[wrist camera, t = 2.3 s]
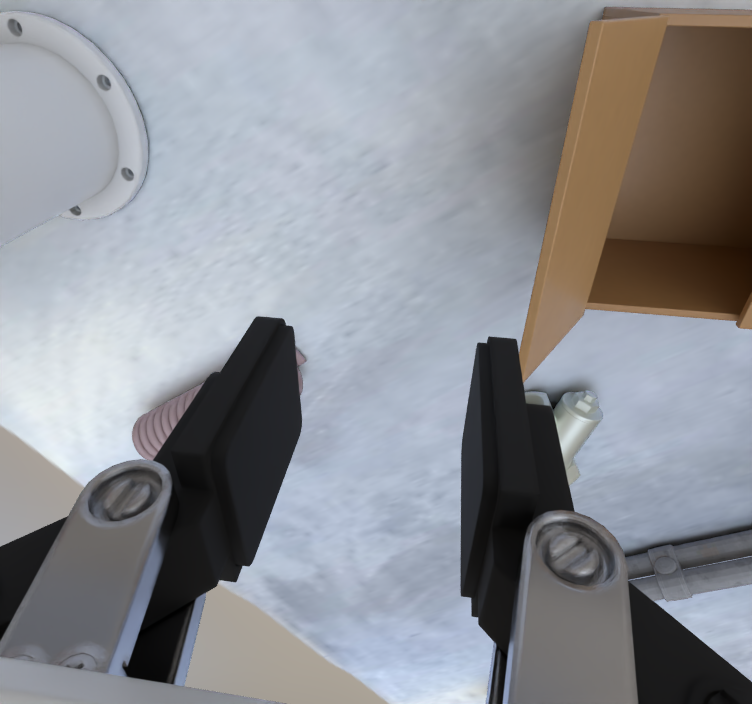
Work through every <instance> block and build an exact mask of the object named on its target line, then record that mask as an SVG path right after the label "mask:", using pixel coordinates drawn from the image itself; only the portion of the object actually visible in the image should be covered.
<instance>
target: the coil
mask: <svg viewBox="0 0 752 704" xmlns="http://www.w3.org/2000/svg"><path fill="white" fill-rule="evenodd" d="M296 359H297V365H298V366H300V365H302V364H303V363H305V362H306V360H305V358H304V357H303V356H302V354H301V353H300V352H299V351H298V350H297V349H296ZM298 366H297V370H298V381H299V392H300V395H301V393H302V390H303V380H302V375H301V373H300V370H299V368H298ZM203 384H204V382H203V383H202V384H200V385H198V386H196V387H194V388H193V389H191V390H188V391H187V392H185V393H183V394H181V395H179V396H178V397H176V398H173V399H172V400H170V401H168V402H166V403H164V404H163V405H161V406H158V407H157V408H155V409H153V410H151V411H149V412H148V413H146V414H143V415H142V416H141V417H139V418H138V420H137V421H136V423H135V425H134V427H133V431H132V439H133V443H134V446H135V448H136V450H137V452H138V453H139V454H140V455H141V456H142V457H143V458H145V459H147V460H151V461H153V459H154V458H155V456H156V455H157V453H158V452H159V450H160V449H161V447H162V446H163V444H164V443H165V441H166V440H167V438H168V437H169V435H170V434H171V432H172V431H173V429H174V428H175V426H176V425H177V423H178V422H179V420H180V419H181V417H182V416H183V414H184V413H185V411H186V410H187V408H188V407H189V405H190V404H191V402H192V401H193V399H194V397H195V396H196V394H197V393H198V391H199V390H200V388H201V387H202V385H203Z"/></svg>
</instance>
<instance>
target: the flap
mask: <svg viewBox="0 0 752 704" xmlns="http://www.w3.org/2000/svg"><path fill="white" fill-rule="evenodd" d="M668 18H669V16H665V15H656V16H644V17H632V18H620V19H609V20H597V21H590V24H589V28H588V33H587V38H586V42H585V47H584V52H583V57H582V61H581V66H580V71H579V75H578V80H577V85H576V89H575V94H574V99H573V103H572V108H571V113H570V117H569V122H568V127H567V131H566V136H565V141H564V146H563V150H562V155H561V160H560V164H559V169H558V174H557V178H556V183H555V188H554V192H553V197H552V202H551V206H550V211H549V216H548V220H547V225H546V230H545V235H544V239H543V244H542V249H541V253H540V258H539V263H538V267H537V272H536V277H535V281H534V286H533V291H532V295H531V300H530V305H529V309H528V314H527V319H526V323H525V328H524V333H523V338H522V342H521V347H520V352H519V359H520V365H521V372H522V379H523V383H524V382H525V380H526V379H527V378H528V377H529V376H530V375H531V374H532V373H533V371H534V370H535V369H536V368H537V367H538V366H539V365H540V364H541V362H542V361H543V360H544V359H545V358H546V357H547V356H548V355H549V353H550V352H551V351H552V350H553V349H554V348H555V347H556V345H557V344H558V343H559V342H560V341H561V340H562V339H563V338H564V336H565V335H566V334H567V333H568V332H569V331H570V330H571V329H572V327H573V326H574V325H575V324H576V323H577V322H578V321H579V320H580V318H581V317H582V316H583V315H584V311H585V308H586V304H587V301H588V297H589V294H590V290H591V287H592V283H593V280H594V276H595V273H596V269H597V266H598V263H599V259H600V256H601V252H602V249H603V245H604V242H605V238H606V235H607V231H608V228H609V224H610V221H611V217H612V214H613V210H614V207H615V203H616V200H617V196H618V193H619V189H620V186H621V182H622V179H623V175H624V172H625V168H626V165H627V161H628V158H629V154H630V151H631V147H632V144H633V140H634V137H635V133H636V130H637V126H638V123H639V119H640V116H641V112H642V109H643V105H644V102H645V98H646V95H647V91H648V88H649V84H650V81H651V78H652V74H653V71H654V67H655V64H656V60H657V57H658V53H659V50H660V46H661V43H662V39H663V36H664V32H665V29H666V25H667V22H668Z"/></svg>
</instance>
